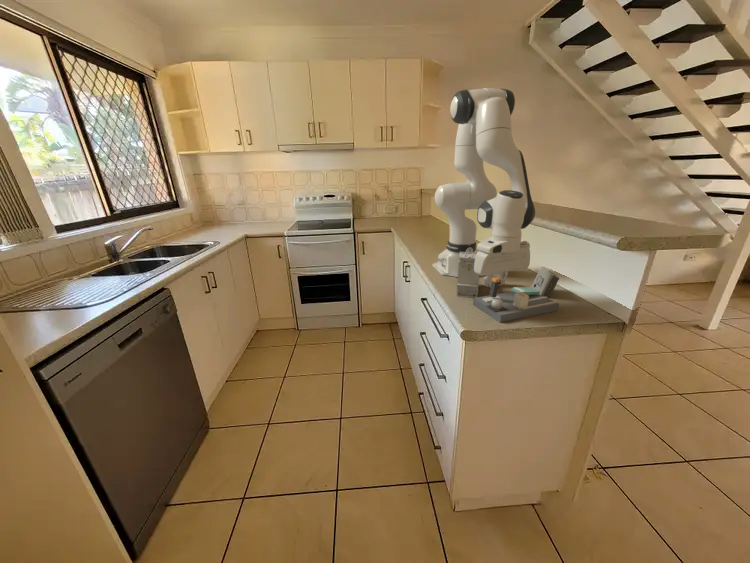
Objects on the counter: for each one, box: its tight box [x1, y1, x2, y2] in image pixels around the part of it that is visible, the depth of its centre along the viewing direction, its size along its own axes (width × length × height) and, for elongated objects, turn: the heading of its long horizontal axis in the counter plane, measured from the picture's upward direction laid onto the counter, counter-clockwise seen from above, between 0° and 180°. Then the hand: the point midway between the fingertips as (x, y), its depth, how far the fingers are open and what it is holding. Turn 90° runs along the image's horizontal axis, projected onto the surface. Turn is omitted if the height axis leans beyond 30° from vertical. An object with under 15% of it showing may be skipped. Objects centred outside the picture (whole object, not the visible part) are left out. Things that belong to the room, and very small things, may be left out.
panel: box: [472, 290, 560, 323], centre depth 104 cm, size 14×23×3 cm, turn 108°
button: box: [491, 298, 503, 309], centre depth 99 cm, size 3×3×2 cm
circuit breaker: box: [455, 251, 480, 298], centre depth 118 cm, size 8×14×15 cm, turn 163°
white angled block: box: [482, 274, 497, 288], centre depth 124 cm, size 4×10×9 cm, turn 110°
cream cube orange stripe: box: [513, 293, 529, 309], centre depth 99 cm, size 3×3×4 cm
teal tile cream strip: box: [511, 286, 540, 295], centre depth 108 cm, size 8×5×1 cm, turn 108°
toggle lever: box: [488, 278, 500, 297], centre depth 104 cm, size 2×2×6 cm
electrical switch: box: [530, 266, 560, 298], centre depth 114 cm, size 9×5×9 cm, turn 173°
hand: (500, 284), depth 104 cm, fingers closed, pressing on toggle lever
